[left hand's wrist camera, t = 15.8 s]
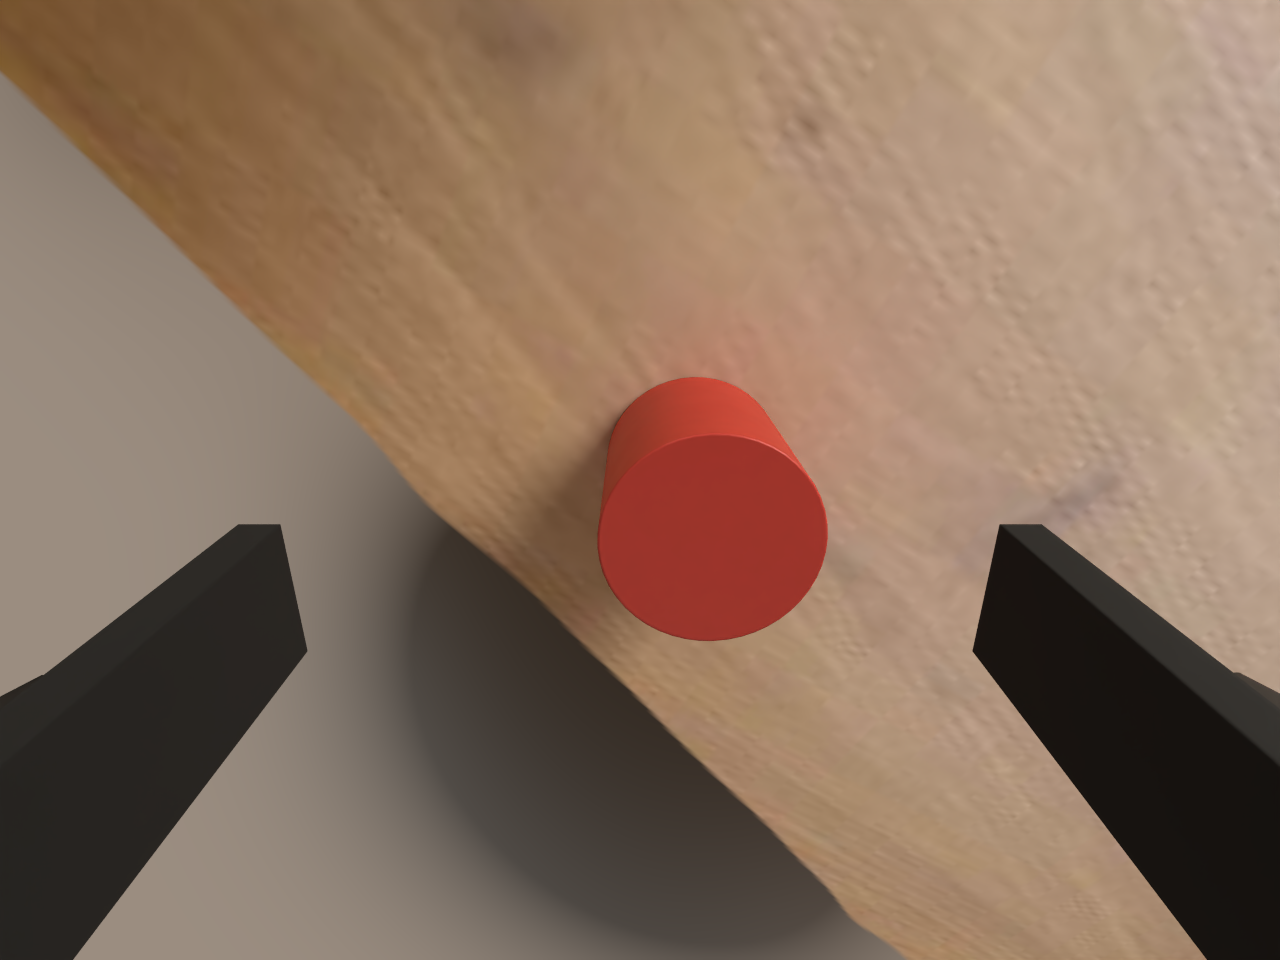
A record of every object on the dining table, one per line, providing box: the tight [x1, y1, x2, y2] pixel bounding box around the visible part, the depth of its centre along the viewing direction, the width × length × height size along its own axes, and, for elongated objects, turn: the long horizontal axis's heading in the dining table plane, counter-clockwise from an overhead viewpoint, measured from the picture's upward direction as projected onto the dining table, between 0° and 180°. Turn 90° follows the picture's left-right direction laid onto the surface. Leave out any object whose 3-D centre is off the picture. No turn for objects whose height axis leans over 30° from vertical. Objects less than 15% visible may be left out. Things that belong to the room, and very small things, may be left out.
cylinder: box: [598, 377, 828, 641], centre depth 25 cm, size 7×7×8 cm
